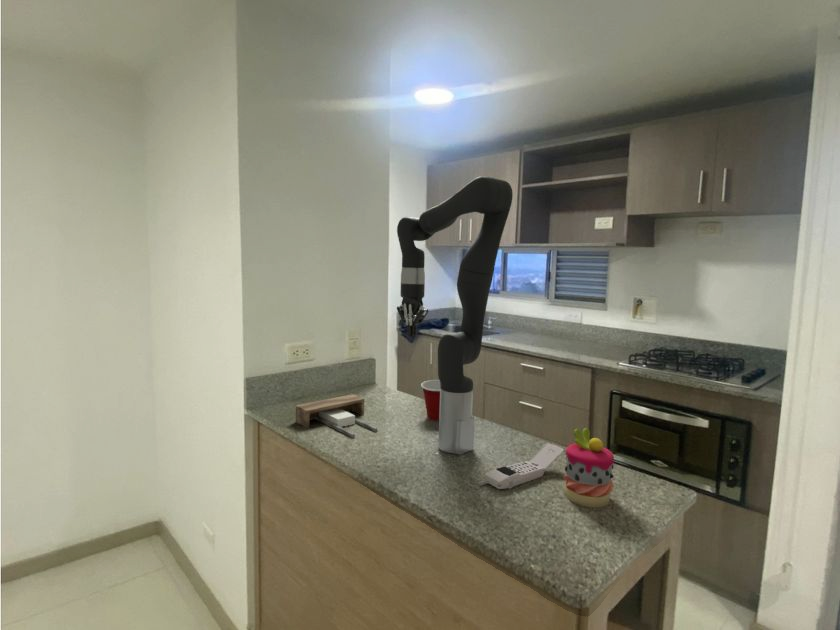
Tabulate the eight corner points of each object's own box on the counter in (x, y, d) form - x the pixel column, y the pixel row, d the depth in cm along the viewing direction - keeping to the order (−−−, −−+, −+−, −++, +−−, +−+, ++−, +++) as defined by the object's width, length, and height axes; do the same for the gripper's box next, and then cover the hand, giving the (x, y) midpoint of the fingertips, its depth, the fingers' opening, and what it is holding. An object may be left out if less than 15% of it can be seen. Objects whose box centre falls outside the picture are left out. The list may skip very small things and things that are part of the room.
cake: (619, 497, 108) (624, 434, 106) (597, 513, 101) (602, 446, 99) (576, 481, 116) (580, 422, 114) (554, 495, 108) (558, 432, 107)
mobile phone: (566, 449, 121) (495, 470, 107) (564, 471, 122) (493, 495, 108) (547, 441, 126) (477, 461, 112) (546, 463, 127) (476, 485, 113)
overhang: (393, 426, 150) (393, 410, 150) (334, 443, 136) (334, 424, 135) (352, 409, 167) (352, 394, 167) (295, 421, 152) (295, 405, 152)
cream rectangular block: (354, 425, 152) (355, 415, 152) (337, 429, 148) (337, 419, 148) (335, 415, 161) (335, 406, 161) (318, 419, 157) (318, 409, 157)
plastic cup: (415, 420, 157) (416, 385, 156) (425, 411, 167) (426, 378, 166) (446, 425, 153) (448, 389, 152) (455, 415, 164) (456, 381, 162)
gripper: (436, 283, 145) (434, 338, 147) (407, 281, 155) (406, 333, 156) (418, 283, 140) (416, 341, 142) (390, 281, 150) (389, 335, 151)
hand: (411, 337), depth 149 cm, fingers closed
